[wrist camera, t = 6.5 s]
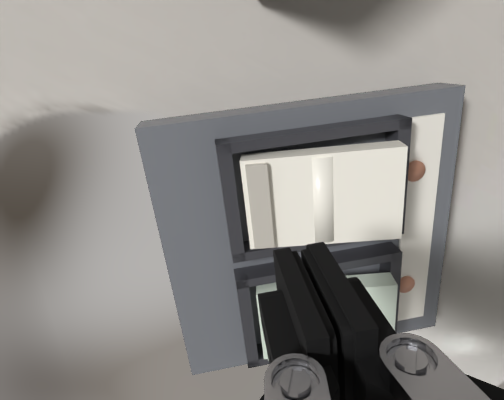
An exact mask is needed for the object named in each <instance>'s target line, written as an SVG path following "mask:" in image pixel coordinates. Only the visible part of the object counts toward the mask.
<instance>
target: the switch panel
mask: <svg viewBox="0 0 504 400" xmlns="http://www.w3.org/2000/svg"><path fill="white" fill-rule="evenodd" d="M464 93H465V85H456V84H446V83H434V84H426V85H419V86H411V87H403V88H395V89H387V90H380V91H372V92H364V93H356V94H349V95H341V96H333V97H325V98H318V99H310V100H302V101H294V102H287V103H279V104H271V105H263V106H256V107H248V108H240V109H232V110H225V111H217V112H209V113H201V114H193V115H186V116H178V117H170V118H162V119H155V120H147V121H141V122H140V123H139V124H138V125H137V127H136V128H135V132H136V136H137V141H138V145H139V149H140V153H141V158H142V162H143V166H144V171H145V175H146V179H147V183H148V188H149V192H150V196H151V201H152V205H153V209H154V213H155V218H156V222H157V226H158V230H159V234H160V239H161V243H162V248H163V252H164V256H165V260H166V264H167V269H168V273H169V277H170V282H171V286H172V290H173V295H174V299H175V303H176V307H177V312H178V316H179V320H180V325H181V328H182V333H183V337H184V342H185V346H186V350H187V354H188V359H189V363H190V367H191V372H192V375H195V374H200V373H205V372H210V371H215V370H220V369H224V368H229V367H235V366H239V365H244V364H248V368H252V367H257V366H262V365H267V364H270V363H269V361H268V359H264V357H263V348H262V340H261V332H260V324H259V316H258V307H257V299H256V286H259V285H264V284H270V283H275V282H276V277H275V268H274V258H273V250H276V249H282V248H288V247H275V248H263V249H250V242H249V234H248V226H247V218H246V210H245V201H244V193H243V185H242V177H241V169H240V158H241V154H252V153H263V152H274V151H285V150H296V149H307V148H318V147H329V146H340V145H351V144H362V143H373V142H384V141H395V140H399V141H401V142H402V143H404V144H405V145H407V146H408V152H407V166H406V180H405V195H404V209H403V223H402V237H401V239H390V240H376V241H361V242H347V243H333V244H326V246H327V248H328V249H329V251H330V252H331V254H332V255H333V257H334V259H335V260H336V262H337V263H338V265H339V266H340V268H341V270H342V271H343V273H344V274H345V276H346V275H360V274H373V273H387V272H390V273H391V274H392V276H393V278H394V279H395V281H396V283H397V285H398V290H397V305H396V319H395V332H396V333H402V332H407V331H412V330H417V329H422V328H427V327H431V326H435V322H436V314H437V306H438V298H439V290H440V283H441V275H442V267H443V259H444V251H445V243H446V235H447V227H448V219H449V211H450V203H451V196H452V188H453V180H454V172H455V164H456V156H457V148H458V140H459V132H460V124H461V116H462V109H463V101H464ZM290 249H291V251H297V252H298V254H299V256H300V258H301V250H303V249H306V245H304V246H290Z"/></svg>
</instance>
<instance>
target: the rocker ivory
mask: <svg viewBox="0 0 504 400" xmlns="http://www.w3.org/2000/svg"><path fill="white" fill-rule="evenodd" d="M407 152H408V146H407V145H405V144H404V143H402V142H401V141H399V140H395V141H384V142H373V143H362V144H351V145H340V146H329V147H318V148H307V149H296V150H285V151H274V152H263V153H252V154H241V158H240V169H241V177H242V185H243V193H244V201H245V210H246V218H247V226H248V234H249V242H250V249H263V248H275V247H290V246H304V245H307V244H312V243H318V242H324V243H325V244H333V243H347V242H361V241H376V240H390V239H401V237H402V223H403V209H404V195H405V180H406V166H407Z"/></svg>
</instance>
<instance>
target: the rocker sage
mask: <svg viewBox="0 0 504 400" xmlns="http://www.w3.org/2000/svg"><path fill="white" fill-rule="evenodd" d="M346 277H347V278H351V277H357V278H358V279H359V280H360V281H361V282H362V284H363V285H364V287H365V288H366V290H367V291H368V293H369V294H370V296H371V297H372V298H373V300H374V301H375V303H376V304H377V306H378V307H379V309H380V310H381V311H382V313H383V314H384V316H385V317H386V319H387V320H388V322H389V323H390V325H391V326H392V327H393V329H394V330H395V319H396V305H397V290H398V285H397V283H396V281H395V279H394V278H393V276H392V274H391V273H390V272H387V273H373V274H360V275H346ZM276 290H277V287H276V282H275V283H270V284H264V285H259V286H256V299H257V307H258V316H259V324H260V332H261V340H262V348H263V357H264V359H268V354H267V349H266V344H265V340H264V334H263V329H262V323H261V317H260V310H259V302H258V294H259V293H265V292H270V291H276ZM268 361H269V359H268Z"/></svg>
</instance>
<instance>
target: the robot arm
mask: <svg viewBox="0 0 504 400" xmlns="http://www.w3.org/2000/svg"><path fill="white" fill-rule="evenodd" d="M273 258H274V268H275V277H276V287H277V290H276V291H270V292H265V293H259V294H258V302H259V310H260V317H261V323H262V329H263V334H264V340H265V344H266V349H267V354H268V359H269V363H270V365H269V366H268V368H267V370H266V372H265V378H264V395H263V396H262V397H261V399H260V400H504V389H501V388H499V387H496V386H494V385H491V384H489V383H486V382H484V381H481V380H479V379H476V378H474V377H471V376H469V375H466V374H464V373H463V372H462V371H461V370H460V369H459V368H458V367H457V366H456V365H455V364H454V363H453V362H452V361H451V360H450V359H449V358H448V357H447V356H446V355H445V354H444V353H443V352H442V351H441V350H440V349H439V348H438V347H437V346H436V345H434V344H433V343H432V342H430V341H429V340H427V339H425V338H423V337H421V336H418V335H414V334H410V333H398V334H397V333H396V332H395V330H394V329H393V327H392V326H391V325H390V323H389V322H388V320H387V319H386V317H385V316H384V314H383V313H382V311H381V310H380V309H379V307H378V306H377V304H376V303H375V301H374V300H373V298H372V297H371V296H370V294H369V293H368V291H367V290H366V288H365V287H364V285H363V284H362V282H361V281H360V280H359V279H358V278H357V277H351V278H347V277H346V276H345V274H344V273H343V271H342V270H341V268H340V266H339V265H338V263H337V262H336V260H335V259H334V257H333V255H332V254H331V252H330V251H329V249H328V248H327V246H326V244H325V243H324V242H318V243H312V244H307V245H306V249H303V250H301V258H300V256H299V254H298V252H297V251H291V249H290V247H288V248H282V249H276V250H273Z"/></svg>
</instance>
